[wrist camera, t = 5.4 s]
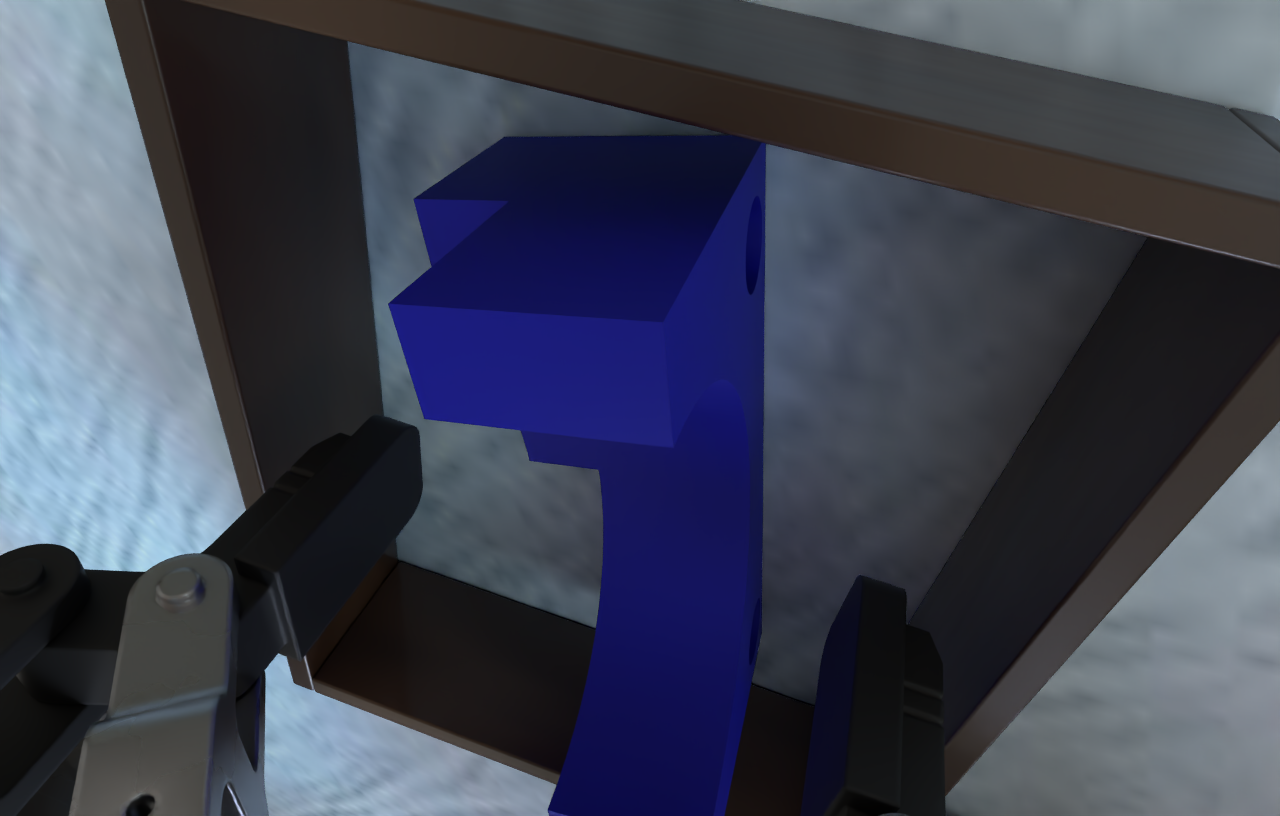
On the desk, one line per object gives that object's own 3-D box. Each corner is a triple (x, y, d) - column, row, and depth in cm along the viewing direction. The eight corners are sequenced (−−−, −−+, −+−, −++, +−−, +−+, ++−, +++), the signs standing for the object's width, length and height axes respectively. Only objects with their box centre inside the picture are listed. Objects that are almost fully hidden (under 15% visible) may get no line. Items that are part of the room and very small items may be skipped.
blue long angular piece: (504, 137, 13) (272, 295, 8) (766, 135, 12) (662, 322, 7) (591, 600, 20) (491, 828, 15) (761, 632, 18) (708, 892, 14)
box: (381, 566, 22) (292, 684, 19) (302, -96, 12) (80, -78, 9) (864, 737, 20) (854, 900, 17) (1276, 115, 10) (1444, 241, 7)
